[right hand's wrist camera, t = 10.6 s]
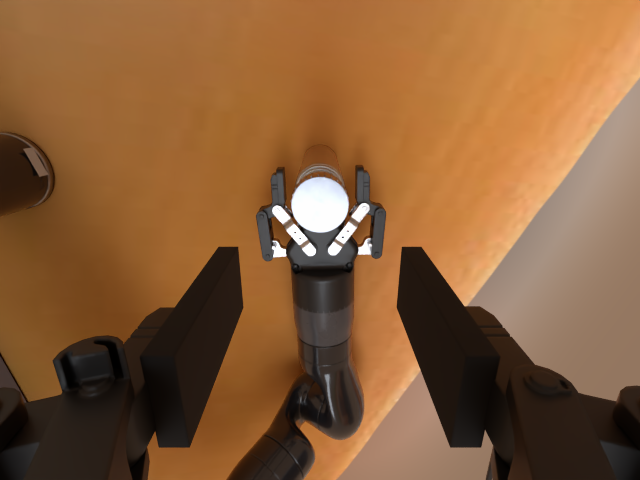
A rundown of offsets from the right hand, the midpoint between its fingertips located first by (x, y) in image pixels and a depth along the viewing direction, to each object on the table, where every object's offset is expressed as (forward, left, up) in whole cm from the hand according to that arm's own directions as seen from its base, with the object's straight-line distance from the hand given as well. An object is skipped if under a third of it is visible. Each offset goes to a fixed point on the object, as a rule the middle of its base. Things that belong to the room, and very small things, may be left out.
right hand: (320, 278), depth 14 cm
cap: (0, 0, -12) cm, 12 cm away
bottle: (0, 0, -33) cm, 33 cm away
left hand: (0, 0, -26) cm, 26 cm away
